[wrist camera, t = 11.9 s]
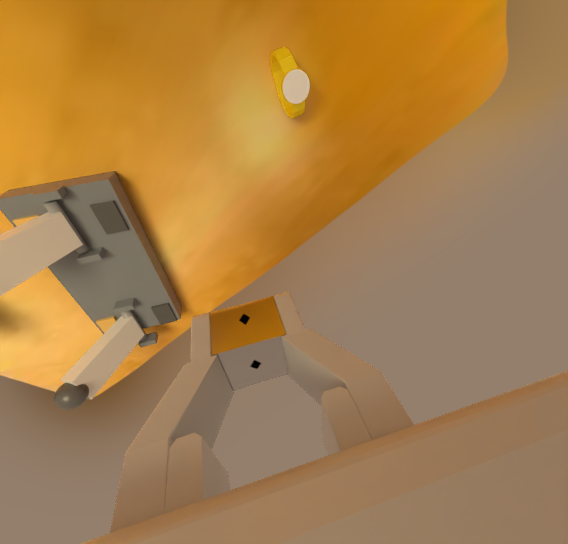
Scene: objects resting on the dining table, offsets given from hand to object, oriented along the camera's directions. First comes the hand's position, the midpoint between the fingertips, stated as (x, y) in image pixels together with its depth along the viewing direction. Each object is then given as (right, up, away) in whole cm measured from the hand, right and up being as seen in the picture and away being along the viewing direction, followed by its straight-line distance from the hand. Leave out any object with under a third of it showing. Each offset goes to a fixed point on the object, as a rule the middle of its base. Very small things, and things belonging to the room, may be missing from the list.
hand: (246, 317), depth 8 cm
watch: (+1, +22, +21) cm, 31 cm away
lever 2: (-21, -6, +31) cm, 38 cm away
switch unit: (-22, +3, +28) cm, 36 cm away
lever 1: (-22, +7, +21) cm, 32 cm away
